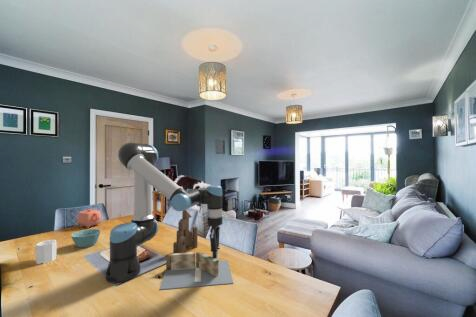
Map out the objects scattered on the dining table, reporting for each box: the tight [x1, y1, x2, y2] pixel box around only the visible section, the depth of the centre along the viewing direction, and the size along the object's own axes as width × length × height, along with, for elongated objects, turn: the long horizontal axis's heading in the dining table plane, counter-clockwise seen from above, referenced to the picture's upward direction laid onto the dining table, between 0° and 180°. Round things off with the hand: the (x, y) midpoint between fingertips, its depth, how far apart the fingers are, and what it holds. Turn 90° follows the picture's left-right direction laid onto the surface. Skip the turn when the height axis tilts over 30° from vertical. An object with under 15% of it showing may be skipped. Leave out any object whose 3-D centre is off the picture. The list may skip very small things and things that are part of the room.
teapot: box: [76, 208, 102, 229], centre depth 178 cm, size 22×13×14 cm, turn 71°
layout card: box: [159, 259, 234, 291], centre depth 104 cm, size 32×22×1 cm
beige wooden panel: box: [165, 251, 202, 271], centre depth 109 cm, size 17×2×8 cm, turn 99°
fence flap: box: [199, 252, 220, 276], centre depth 105 cm, size 12×2×7 cm, turn 50°
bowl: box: [70, 228, 102, 249], centre depth 138 cm, size 16×16×8 cm
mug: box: [34, 239, 58, 265], centre depth 117 cm, size 12×9×10 cm
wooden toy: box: [172, 209, 199, 254], centre depth 132 cm, size 15×7×25 cm, turn 152°
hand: (215, 263), depth 106 cm, fingers closed
